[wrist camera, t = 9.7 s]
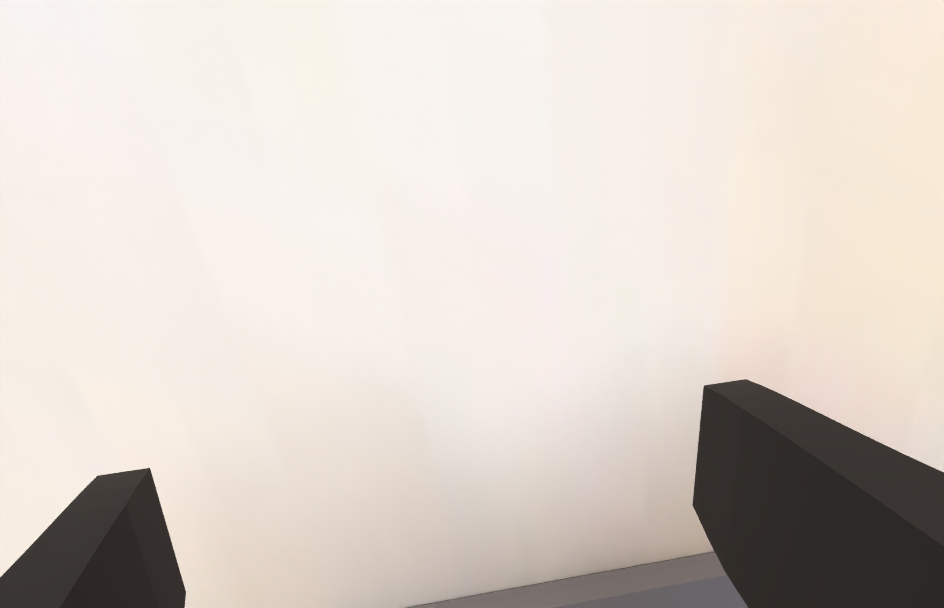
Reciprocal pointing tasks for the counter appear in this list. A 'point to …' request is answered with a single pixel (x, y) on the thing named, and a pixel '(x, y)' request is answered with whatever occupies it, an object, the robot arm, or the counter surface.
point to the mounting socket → (622, 589)
